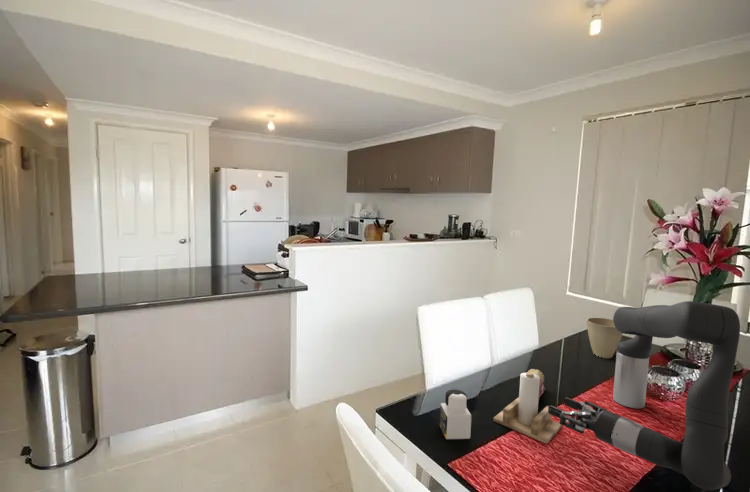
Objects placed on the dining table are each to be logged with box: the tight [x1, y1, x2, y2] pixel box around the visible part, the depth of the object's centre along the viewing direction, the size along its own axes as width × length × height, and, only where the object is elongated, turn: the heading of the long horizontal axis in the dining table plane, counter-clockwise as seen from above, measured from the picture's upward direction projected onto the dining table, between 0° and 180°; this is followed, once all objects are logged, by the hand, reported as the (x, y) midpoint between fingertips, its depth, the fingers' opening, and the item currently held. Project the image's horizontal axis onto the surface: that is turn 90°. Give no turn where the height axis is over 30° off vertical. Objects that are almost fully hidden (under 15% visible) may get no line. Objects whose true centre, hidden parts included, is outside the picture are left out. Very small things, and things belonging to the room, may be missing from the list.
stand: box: [492, 396, 563, 444], centre depth 115 cm, size 12×16×5 cm
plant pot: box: [586, 317, 624, 359], centre depth 174 cm, size 15×15×16 cm
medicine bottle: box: [439, 388, 472, 440], centre depth 109 cm, size 7×7×12 cm
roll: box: [518, 372, 540, 426], centre depth 114 cm, size 5×5×15 cm
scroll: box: [526, 368, 546, 402], centre depth 132 cm, size 8×8×20 cm
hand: (557, 404), depth 107 cm, fingers open, 8 cm apart
